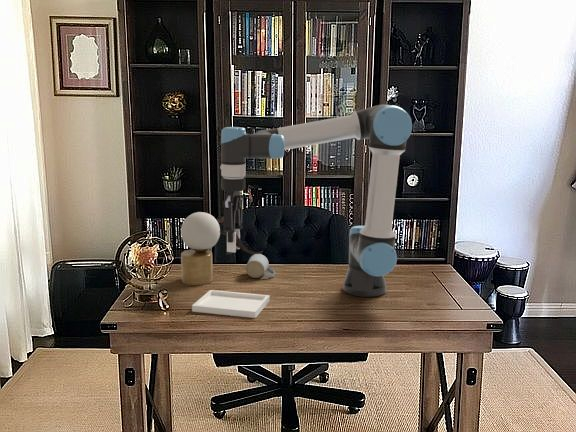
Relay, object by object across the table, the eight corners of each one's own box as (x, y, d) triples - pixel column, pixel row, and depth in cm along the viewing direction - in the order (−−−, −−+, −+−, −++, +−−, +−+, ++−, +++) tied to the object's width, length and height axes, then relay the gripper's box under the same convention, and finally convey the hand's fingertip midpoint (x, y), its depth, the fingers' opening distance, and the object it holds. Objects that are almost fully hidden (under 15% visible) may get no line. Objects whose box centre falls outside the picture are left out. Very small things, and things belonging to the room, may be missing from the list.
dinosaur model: (219, 215, 202) (265, 219, 202) (217, 250, 205) (263, 254, 205) (217, 218, 198) (264, 222, 198) (215, 254, 201) (262, 258, 201)
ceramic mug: (244, 278, 236) (245, 258, 234) (249, 272, 244) (249, 252, 242) (273, 280, 235) (273, 260, 233) (276, 273, 243) (276, 254, 241)
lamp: (198, 271, 245) (197, 207, 240) (228, 277, 238) (227, 211, 232) (172, 281, 232) (170, 214, 227) (202, 288, 225) (201, 218, 220)
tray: (269, 301, 212) (269, 295, 212) (255, 318, 197) (255, 311, 197) (210, 295, 217) (210, 289, 217) (192, 311, 202) (191, 305, 202)
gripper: (230, 173, 207) (230, 243, 212) (212, 180, 191) (213, 255, 196) (252, 174, 205) (252, 244, 210) (236, 181, 189) (236, 257, 194)
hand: (233, 250), depth 203 cm, fingers closed on dinosaur model, 3 cm apart
